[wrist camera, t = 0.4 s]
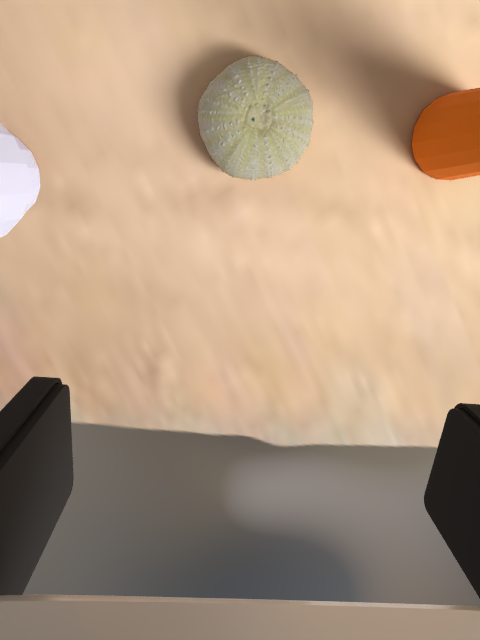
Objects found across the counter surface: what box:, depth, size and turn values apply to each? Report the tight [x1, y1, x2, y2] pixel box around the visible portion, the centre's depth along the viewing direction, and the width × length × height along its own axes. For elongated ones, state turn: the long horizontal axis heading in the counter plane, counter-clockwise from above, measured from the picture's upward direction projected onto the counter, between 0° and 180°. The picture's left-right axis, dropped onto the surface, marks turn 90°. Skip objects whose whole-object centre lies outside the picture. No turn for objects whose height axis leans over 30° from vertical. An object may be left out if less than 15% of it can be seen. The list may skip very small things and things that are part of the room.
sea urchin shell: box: [197, 56, 313, 180], centre depth 34 cm, size 9×8×8 cm
